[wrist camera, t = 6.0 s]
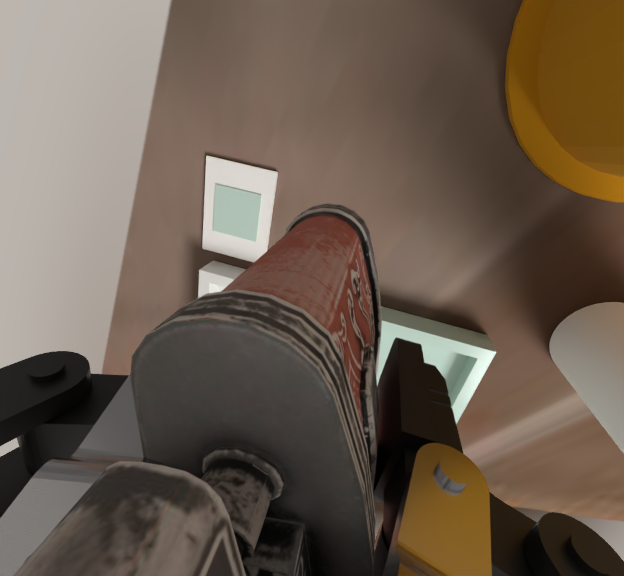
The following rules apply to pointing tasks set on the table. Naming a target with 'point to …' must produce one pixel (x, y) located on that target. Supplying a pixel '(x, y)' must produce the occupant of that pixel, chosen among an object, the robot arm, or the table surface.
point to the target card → (237, 208)
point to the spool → (570, 92)
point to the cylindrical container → (595, 361)
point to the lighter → (248, 426)
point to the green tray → (441, 352)
